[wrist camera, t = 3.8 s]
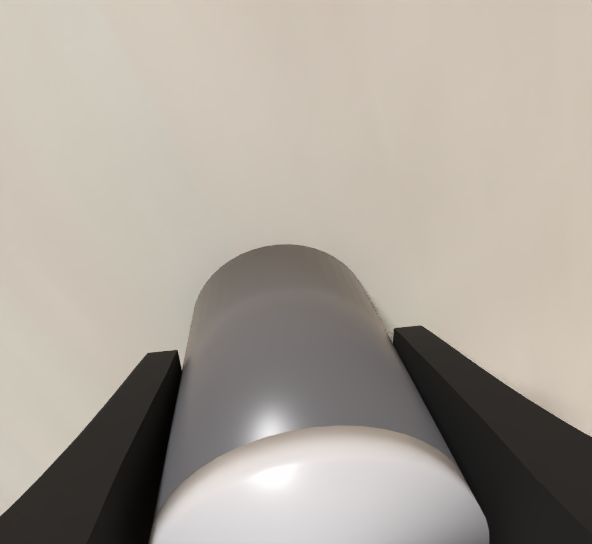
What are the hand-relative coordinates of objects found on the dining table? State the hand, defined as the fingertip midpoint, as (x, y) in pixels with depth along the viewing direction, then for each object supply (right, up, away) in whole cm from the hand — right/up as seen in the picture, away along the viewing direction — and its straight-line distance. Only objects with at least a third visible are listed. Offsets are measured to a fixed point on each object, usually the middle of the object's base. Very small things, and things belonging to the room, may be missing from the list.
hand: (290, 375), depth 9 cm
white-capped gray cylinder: (0, +1, +2) cm, 2 cm away
